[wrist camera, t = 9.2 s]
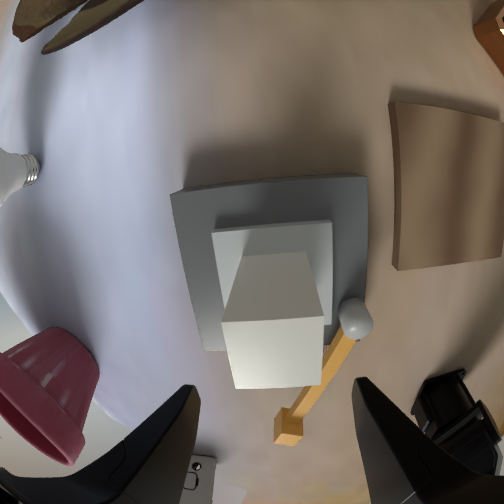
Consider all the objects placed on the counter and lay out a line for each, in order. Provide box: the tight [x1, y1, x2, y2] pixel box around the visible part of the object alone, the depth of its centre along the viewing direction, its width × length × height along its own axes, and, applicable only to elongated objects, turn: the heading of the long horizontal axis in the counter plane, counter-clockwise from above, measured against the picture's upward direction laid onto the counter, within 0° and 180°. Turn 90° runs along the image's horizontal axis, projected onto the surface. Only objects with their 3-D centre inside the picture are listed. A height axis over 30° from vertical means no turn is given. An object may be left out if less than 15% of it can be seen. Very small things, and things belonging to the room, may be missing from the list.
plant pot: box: [0, 327, 99, 466], centre depth 20 cm, size 14×14×13 cm
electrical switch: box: [179, 455, 216, 504], centre depth 29 cm, size 9×5×9 cm, turn 96°
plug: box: [212, 220, 333, 389], centre depth 15 cm, size 7×7×10 cm
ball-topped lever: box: [273, 298, 373, 446], centre depth 18 cm, size 14×2×3 cm, turn 164°
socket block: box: [170, 173, 368, 351], centre depth 19 cm, size 12×12×2 cm
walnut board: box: [388, 102, 504, 271], centre depth 16 cm, size 12×12×1 cm
